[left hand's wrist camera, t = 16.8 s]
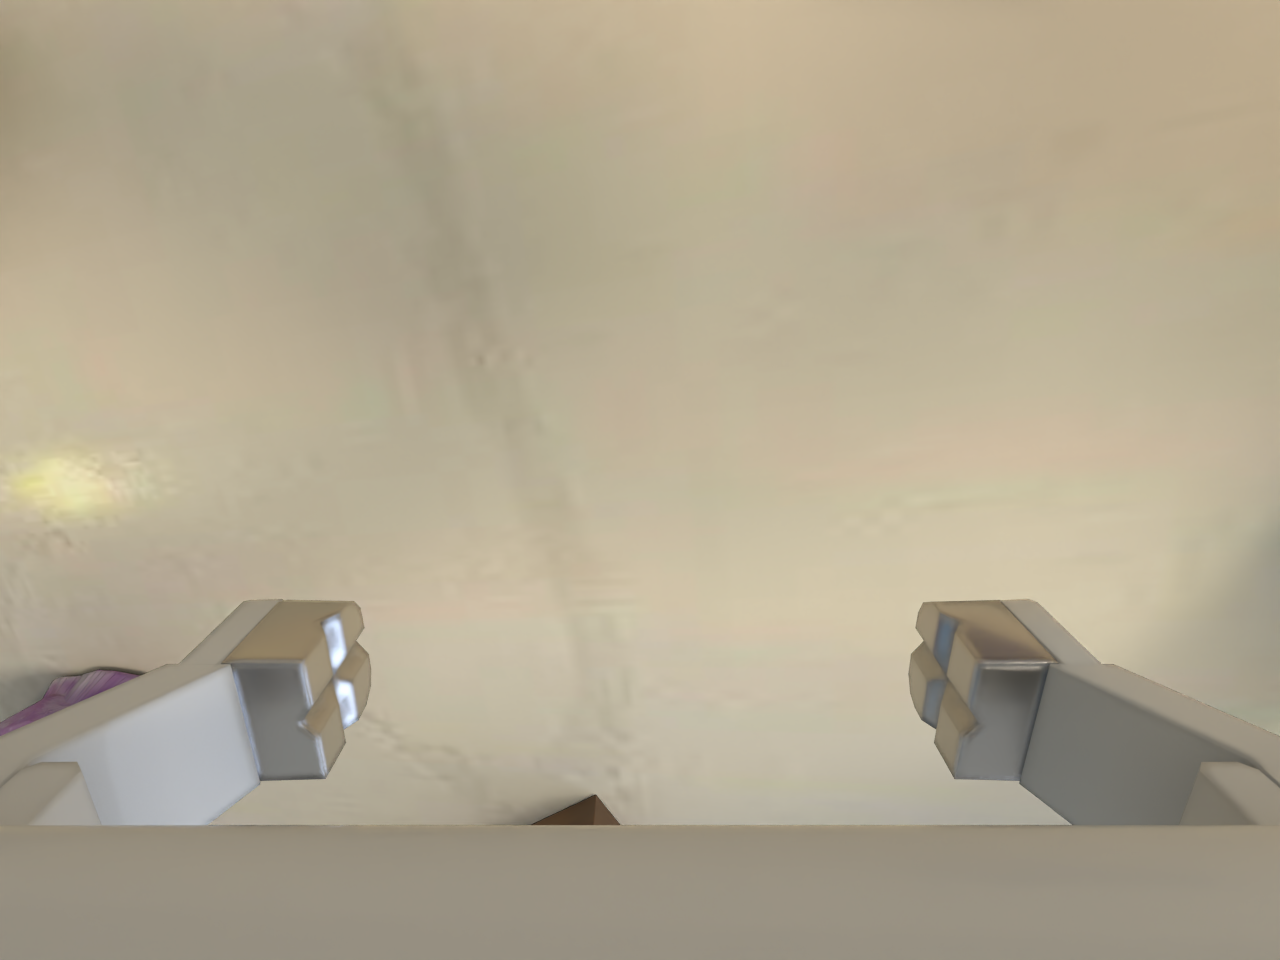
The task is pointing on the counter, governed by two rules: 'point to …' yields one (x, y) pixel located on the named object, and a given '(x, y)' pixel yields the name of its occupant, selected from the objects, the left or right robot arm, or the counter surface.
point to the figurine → (66, 696)
